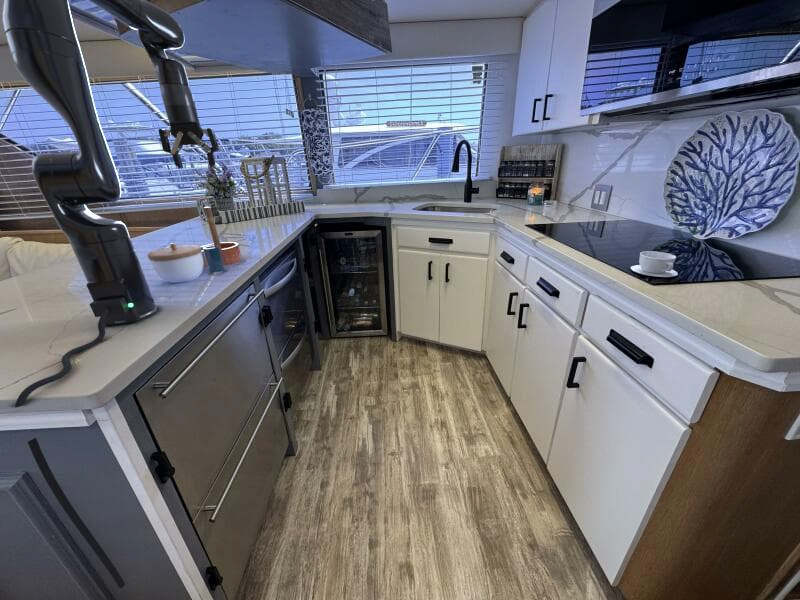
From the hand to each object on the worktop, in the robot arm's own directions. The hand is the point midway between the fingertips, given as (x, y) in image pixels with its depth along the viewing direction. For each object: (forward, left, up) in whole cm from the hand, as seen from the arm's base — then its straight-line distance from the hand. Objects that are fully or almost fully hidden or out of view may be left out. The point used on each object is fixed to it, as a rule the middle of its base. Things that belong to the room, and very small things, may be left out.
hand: (196, 167), depth 96 cm
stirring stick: (0, 0, -30) cm, 30 cm away
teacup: (-54, -118, -30) cm, 133 cm away
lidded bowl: (-16, +6, -30) cm, 35 cm away
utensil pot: (-10, -1, -30) cm, 32 cm away
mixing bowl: (0, 0, -30) cm, 30 cm away
